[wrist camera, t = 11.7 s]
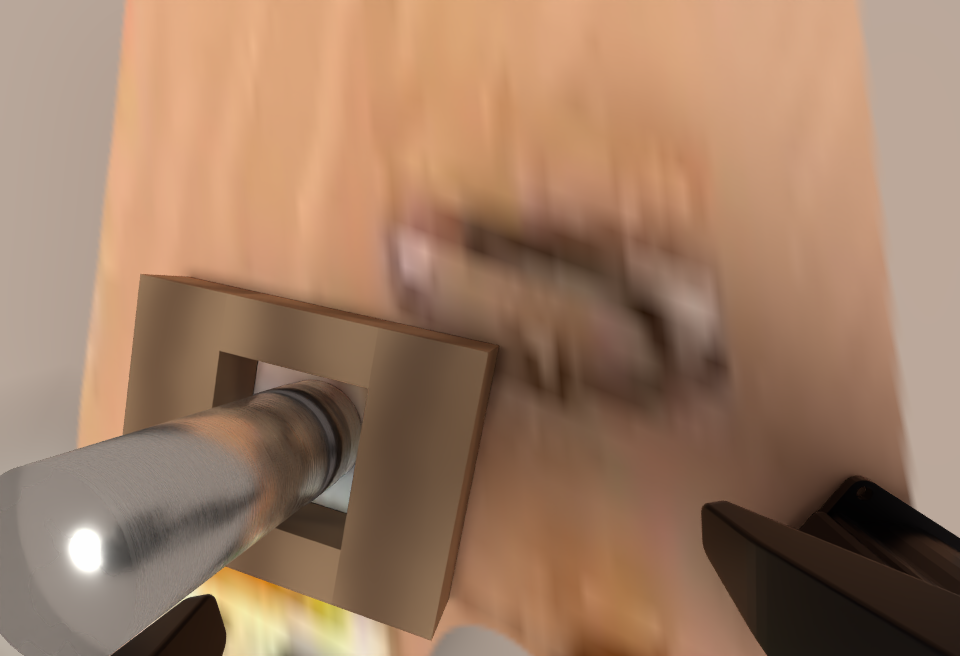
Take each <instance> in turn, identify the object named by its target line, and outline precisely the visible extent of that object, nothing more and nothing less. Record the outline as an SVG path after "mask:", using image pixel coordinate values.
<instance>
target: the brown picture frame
mask: <svg viewBox="0 0 960 656" xmlns="http://www.w3.org/2000/svg"><path fill="white" fill-rule="evenodd" d="M498 349H499V345H494V344H490V343H485V342H481V341H476V340H472V339H467V338H463V337H458V336H454V335H449V334H445V333H440V332H436V331H431V330H427V329H422V328H418V327H413V326H408V325H404V324H399V323H395V322H390V321H386V320H381V319H377V318H372V317H368V316H363V315H359V314H354V313H350V312H345V311H341V310H336V309H332V308H327V307H323V306H318V305H314V304H309V303H305V302H300V301H295V300H291V299H286V298H282V297H277V296H273V295H268V294H264V293H259V292H255V291H250V290H246V289H241V288H237V287H232V286H228V285H223V284H219V283H214V282H210V281H205V280H201V279H196V278H192V277H183V276H165V275H148V274H140V283H139V292H138V301H137V310H136V319H135V328H134V337H133V346H132V355H131V364H130V374H129V383H128V392H127V401H126V410H125V419H124V428H123V435H125V434H129V433H132V432H135V431H139V430H142V429H145V428H149V427H152V426H155V425H158V424H162V423H165V422H168V421H172V420H175V419H178V418H181V417H185V416H188V415H191V414H195V413H198V412H201V411H205V410H208V409H211V408H214V407H218V406H221V405H224V404H228V403H231V402H234V401H237V400H241V399H244V398H247V397H250V396H252V395H253V389H254V382H255V375H256V368H257V361H261V362H265V363H269V364H273V365H277V366H281V367H285V368H289V369H293V370H297V371H301V372H305V373H309V374H313V375H316V376H320V377H324V378H328V379H332V380H336V381H340V382H344V383H348V384H352V385H356V386H360V387H364V388H367V389H368V392H367V398H366V404H365V410H364V416H363V422H362V428H361V434H360V439H359V445H358V451H357V457H356V463H355V469H354V475H353V481H352V487H351V492H350V498H349V504H348V510H347V514H345V513H342V512H339V511H336V510H333V509H330V508H326V507H323V506H320V505H317V504H314V503H311V502H310V503H309V504H307V505H305V506H303V507H301V508H300V509H299V510H298V511H296V512H295V513H294V514H292V515H291V516H290V517H289V518H287V519H286V520H285V521H283V522H282V523H281V524H279V525H278V526H277V527H276V528H274V529H273V530H272V531H270V532H269V533H268V534H266V535H265V536H264V537H263V538H261V539H260V540H259V541H257V542H256V543H255V544H254V545H252V546H251V547H250V548H248V549H247V550H246V551H244V552H243V553H242V554H241V555H239V556H238V557H237V558H235V559H234V560H233V561H231V562H230V563H229V564H228V565H226V567H229V568H231V569H234V570H237V571H240V572H243V573H245V574H248V575H251V576H254V577H256V578H259V579H262V580H265V581H267V582H270V583H273V584H276V585H279V586H281V587H284V588H287V589H290V590H292V591H295V592H298V593H301V594H303V595H306V596H309V597H312V598H315V599H317V600H320V601H323V602H326V603H328V604H331V605H334V606H337V607H339V608H342V609H345V610H348V611H351V612H353V613H356V614H359V615H362V616H364V617H367V618H370V619H373V620H375V621H378V622H381V623H384V624H387V625H389V626H392V627H395V628H398V629H400V630H403V631H406V632H409V633H411V634H414V635H417V636H420V637H423V638H425V639H428V640H431V641H432V638H433V636H434V633H435V631H436V628H437V626H438V624H439V621H440V619H441V616H442V614H443V611H444V609H445V606H446V604H447V602H448V599H449V594H450V589H451V584H452V579H453V574H454V569H455V564H456V559H457V554H458V549H459V544H460V539H461V534H462V529H463V524H464V519H465V514H466V509H467V504H468V499H469V494H470V489H471V484H472V479H473V474H474V469H475V464H476V459H477V454H478V449H479V444H480V439H481V434H482V429H483V424H484V419H485V414H486V409H487V404H488V399H489V394H490V389H491V384H492V379H493V374H494V369H495V364H496V359H497V354H498Z"/></svg>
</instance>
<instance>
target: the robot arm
mask: <svg viewBox="0 0 960 656" xmlns="http://www.w3.org/2000/svg"><path fill="white" fill-rule="evenodd" d="M861 487H865V489H866V490H865V492H864V494H862V495H859V496H857V493H856V492H857V490H858V489H859V488H861ZM701 518H702V541H703V547H704V550H705V553H706V555H707V557H708V559H709V560H710V562H711V564H712V566H713V567H714V569H715V571H716V572H717V574H718V576H719V577H720V579H721V581H722V583H723V584H724V586H725V588H726V589H727V591H728V593H729V595H730V596H731V598H732V600H733V601H734V603H735V605H736V606H737V608H738V610H739V612H740V613H741V615H742V617H743V618H744V620H745V622H746V624H747V625H748V627H749V628H750V630H751V632H752V633H753V635H754V637H755V638H756V640H757V641H758V643H759V644H760V646H761V647H762V649H763V650H764V651H765V653H766V654H767V656H960V538H959V537H957V536H956V535H954V534H953V533H951V532H949V531H948V530H946V529H945V528H943V527H942V526H940V525H939V524H937V523H935V522H934V521H932V520H931V519H929V518H928V517H926V516H925V515H923V514H921V513H920V512H918V511H917V510H915V509H914V508H912V507H911V506H909V505H907V504H906V503H904V502H903V501H901V500H900V499H898V498H897V497H895V496H894V495H892V494H890V493H889V492H887V491H886V490H884V489H883V488H881V487H880V486H878V485H876V484H875V483H873V482H872V481H870V480H868V479H867V478H864V477H862V476H853V477H849V478H848V479H847V480H845V481H844V483H843V484H842V485H841V486H840V487H839V488H838V489H837V491H836V492H835V493H834V494H833V495H832V496H831V497H830V499H829V500H828V501H827V502H826V503H825V504H824V505H823V507H822V508H821V509H820V510H819V511H818V512H817V513H814V514H812V516H811V517H810V518H809V519H808V520H807V521H806V522H805V524H804V525H803V526H802V527H801V528H800V529H799V530H797V529H794V528H792V527H789V526H787V525H784V524H782V523H779V522H777V521H774V520H772V519H769V518H767V517H764V516H762V515H759V514H757V513H755V512H752V511H750V510H747V509H745V508H742V507H740V506H737V505H735V504H732V503H730V502H727V501H717V502H712V503H706V504H704V505H703V507H702V510H701ZM225 644H226V630H225V627H224V624H223V620H222V617H221V614H220V611H219V608H218V605H217V601H216V599H215V597H214V596H212V595H210V594H206V595H200V596H194V597H190V598H187V599H185V600H183V601H182V602H180V603H179V604H178V605H177V606H175V607H174V608H173V609H171V610H170V611H169V612H167V613H166V614H165V615H163V616H162V617H161V618H159V619H158V620H157V621H155V622H154V623H153V624H151V625H150V626H149V627H147V628H146V629H145V630H143V631H142V632H141V633H139V634H138V635H137V636H135V637H134V638H133V639H132V640H130V641H129V642H128V643H126V644H125V645H124V646H122V647H121V648H120V649H118V650H117V651H116V652H114V653H113V654H112V655H110V656H222V655H223V652H224V648H225Z"/></svg>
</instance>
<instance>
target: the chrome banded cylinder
mask: <svg viewBox="0 0 960 656" xmlns="http://www.w3.org/2000/svg"><path fill="white" fill-rule="evenodd" d="M361 428H362V424H361V420H360V417H359V415H358V412H357V410H356V408H355V406H354V405H353V403H352V402H351V400H350V399H349V398H348V397H347V396H346V395H345V394H344V393H343V392H342V391H341V390H339V389H338V388H336V387H335V386H333V385H331V384H329V383H326V382H323V381H318V380H305V381H300V382H297V383H294V384H287V385H283V386H280V387H276V388H273V389H270V390H266V391H263V392H260V393H256V394H254V395H252V396H250V397H247V398H244V399H241V400H237V401H234V402H231V403H228V404H224V405H221V406H218V407H214V408H211V409H208V410H205V411H201V412H198V413H195V414H191V415H188V416H185V417H181V418H178V419H175V420H172V421H168V422H165V423H162V424H158V425H155V426H152V427H149V428H145V429H142V430H139V431H135V432H132V433H129V434H125V435H122V436H119V437H116V438H112V439H109V440H106V441H102V442H99V443H96V444H93V445H89V446H86V447H83V448H79V449H76V450H73V451H69V452H67V453H63V454H60V455H56V456H53V457H50V458H46V459H43V460H40V461H36V462H33V463H30V464H27V465H24V466H20V467H17V468H14V469H11V470H9V471H7V472H5V473H4V474H2V475H1V476H0V634H1V635H2V636H3V637H4V638H5V639H6V640H7V642H8V643H10V645H12V646H13V647H14V648H15V649H16V650H17V651H18V652H20V653H21V654H23V655H24V656H110V655H111V654H112V653H113V652H115V651H116V650H117V649H119V648H120V647H121V646H122V645H124V644H125V643H126V642H128V641H129V640H130V639H132V638H133V637H134V636H135V635H137V634H138V633H139V632H141V631H142V630H143V629H145V628H146V627H147V626H148V625H150V624H151V623H152V622H154V621H155V620H156V619H158V618H159V617H160V616H161V615H163V614H164V613H165V612H167V611H168V610H169V609H170V608H172V607H173V606H174V605H176V604H177V603H178V602H180V601H181V600H182V599H183V598H185V597H186V596H187V595H189V594H190V593H191V592H193V591H194V590H195V589H196V588H198V587H199V586H200V585H202V584H203V583H204V582H206V581H207V580H208V579H209V578H211V577H212V576H213V575H215V574H216V573H217V572H218V571H220V570H221V569H222V568H224V567H225V566H226V565H228V564H229V563H230V562H231V561H233V560H234V559H235V558H237V557H238V556H239V555H241V554H242V553H243V552H244V551H246V550H247V549H248V548H250V547H251V546H252V545H254V544H255V543H256V542H257V541H259V540H260V539H261V538H263V537H264V536H265V535H266V534H268V533H269V532H270V531H272V530H273V529H274V528H276V527H277V526H278V525H279V524H281V523H282V522H283V521H285V520H286V519H287V518H289V517H290V516H291V515H292V514H294V513H295V512H296V511H298V510H299V509H300V508H301V507H303V506H305V505H307V504H309V503H310V502H311V501H313V500H314V499H315V498H316V497H318V496H319V495H320V494H322V493H323V492H324V491H325V490H327V489H328V488H329V487H331V486H332V485H333V484H334V483H335V482H336V481H337V480H338V479H339V478H340V477H342V476H343V475H344V474H346V473H347V472H348V471H349V470H350V469H351V468H352V467H353V465H354V464H355V462H356V457H357V451H358V445H359V439H360V434H361Z"/></svg>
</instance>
